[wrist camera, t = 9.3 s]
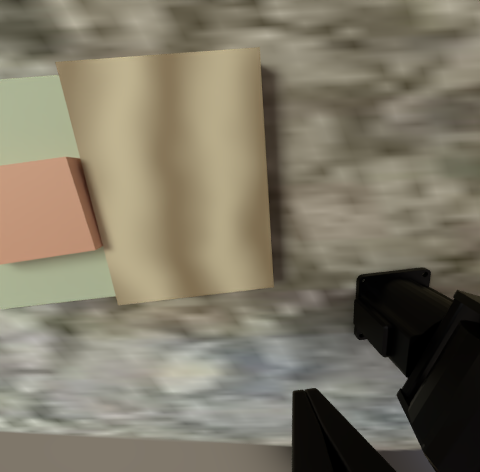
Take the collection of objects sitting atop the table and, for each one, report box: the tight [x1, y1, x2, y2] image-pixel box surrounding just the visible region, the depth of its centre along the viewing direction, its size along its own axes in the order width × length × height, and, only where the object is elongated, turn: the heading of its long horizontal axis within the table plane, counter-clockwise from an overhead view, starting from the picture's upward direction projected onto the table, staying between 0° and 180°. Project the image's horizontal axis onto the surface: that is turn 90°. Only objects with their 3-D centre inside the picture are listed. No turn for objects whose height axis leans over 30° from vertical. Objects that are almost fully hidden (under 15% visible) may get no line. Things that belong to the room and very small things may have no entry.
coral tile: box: [0, 157, 103, 265], centre depth 16 cm, size 9×6×2 cm, turn 98°
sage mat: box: [0, 75, 116, 309], centre depth 17 cm, size 10×16×1 cm, turn 5°
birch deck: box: [55, 47, 274, 305], centre depth 17 cm, size 12×16×2 cm
